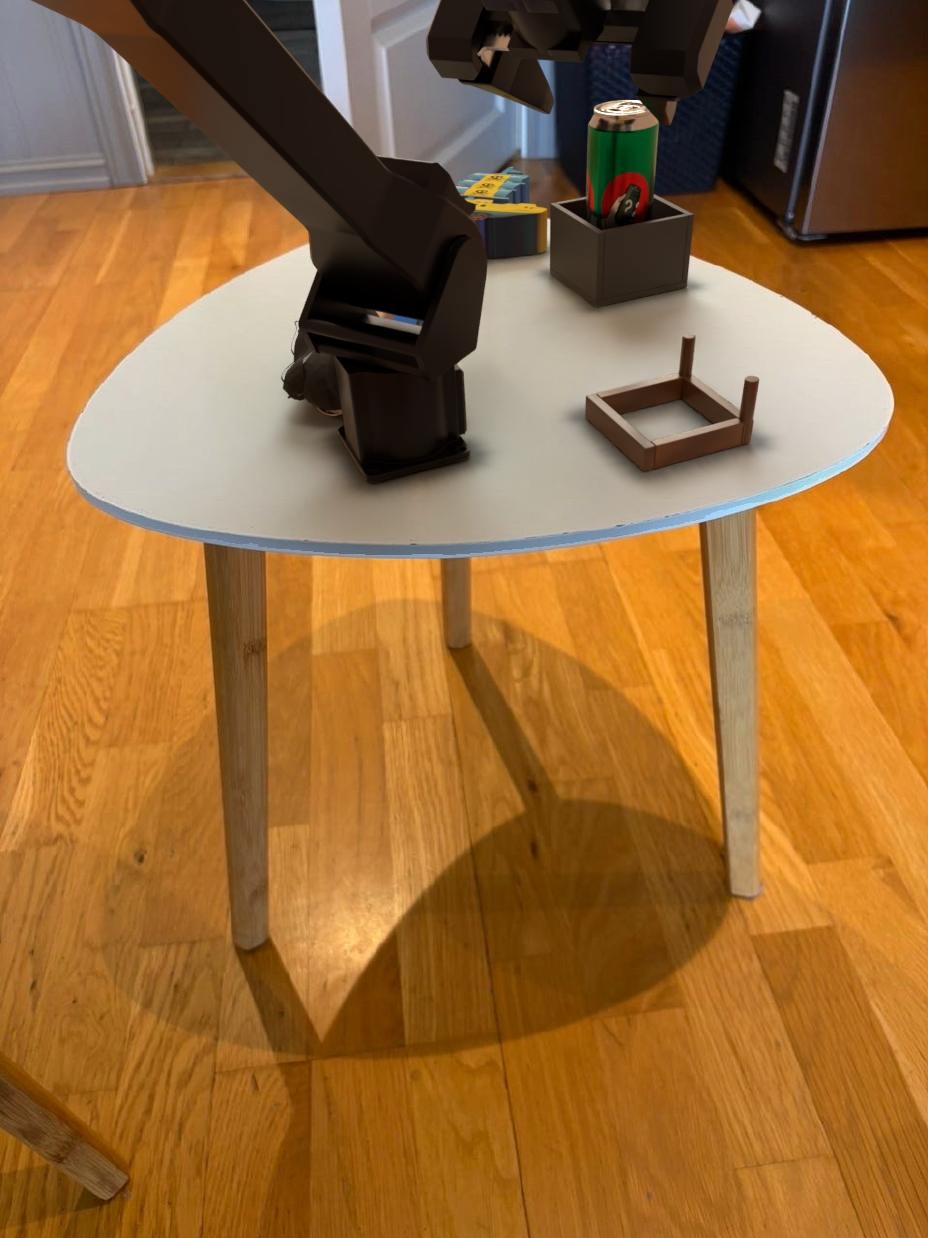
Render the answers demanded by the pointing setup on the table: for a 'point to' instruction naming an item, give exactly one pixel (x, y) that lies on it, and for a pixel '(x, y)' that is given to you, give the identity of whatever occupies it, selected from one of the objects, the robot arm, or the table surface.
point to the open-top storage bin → (620, 253)
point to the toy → (505, 213)
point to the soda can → (620, 164)
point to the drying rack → (664, 451)
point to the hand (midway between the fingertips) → (608, 112)
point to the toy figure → (316, 375)
